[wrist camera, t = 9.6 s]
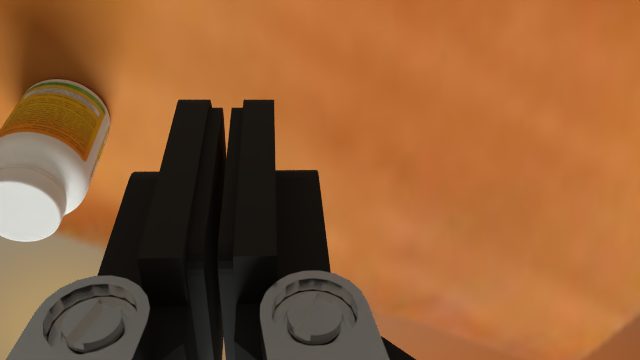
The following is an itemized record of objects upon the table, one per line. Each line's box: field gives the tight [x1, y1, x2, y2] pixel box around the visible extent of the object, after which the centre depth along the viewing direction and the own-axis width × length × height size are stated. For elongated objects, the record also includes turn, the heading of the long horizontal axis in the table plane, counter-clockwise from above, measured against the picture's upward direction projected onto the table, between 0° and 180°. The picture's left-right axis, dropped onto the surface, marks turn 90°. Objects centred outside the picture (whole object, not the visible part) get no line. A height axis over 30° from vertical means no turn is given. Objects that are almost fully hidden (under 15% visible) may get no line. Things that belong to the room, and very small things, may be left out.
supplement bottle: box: [0, 79, 110, 241], centre depth 32 cm, size 5×5×10 cm
